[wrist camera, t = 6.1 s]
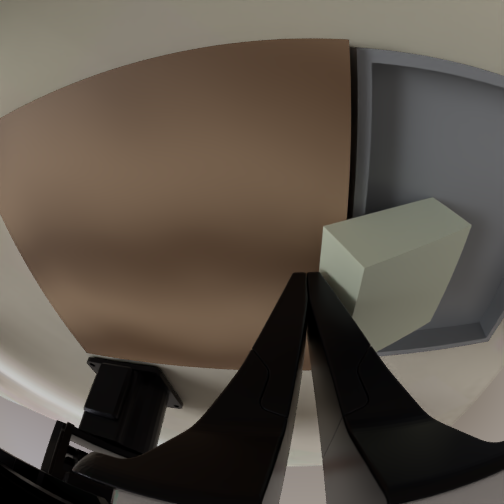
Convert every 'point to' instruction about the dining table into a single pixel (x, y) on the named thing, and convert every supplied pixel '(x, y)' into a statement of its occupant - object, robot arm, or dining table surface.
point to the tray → (435, 174)
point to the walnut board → (181, 194)
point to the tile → (393, 266)
